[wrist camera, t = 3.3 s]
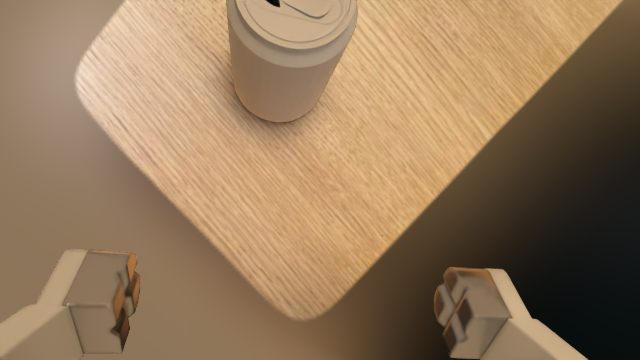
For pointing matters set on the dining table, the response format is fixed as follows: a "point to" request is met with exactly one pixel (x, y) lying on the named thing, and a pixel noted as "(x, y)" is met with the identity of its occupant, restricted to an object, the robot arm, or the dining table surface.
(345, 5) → the beverage can
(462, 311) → the robot arm
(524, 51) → the dining table surface
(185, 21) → the dining table surface
